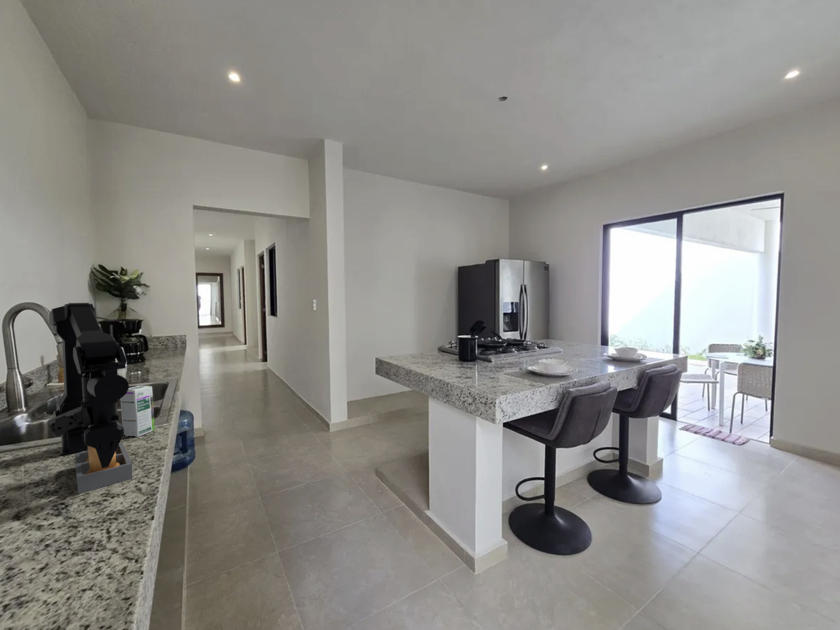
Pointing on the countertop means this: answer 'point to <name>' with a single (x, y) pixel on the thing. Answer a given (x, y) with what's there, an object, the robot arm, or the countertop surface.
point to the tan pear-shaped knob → (98, 461)
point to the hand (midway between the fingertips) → (103, 460)
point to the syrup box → (137, 411)
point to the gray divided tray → (102, 471)
